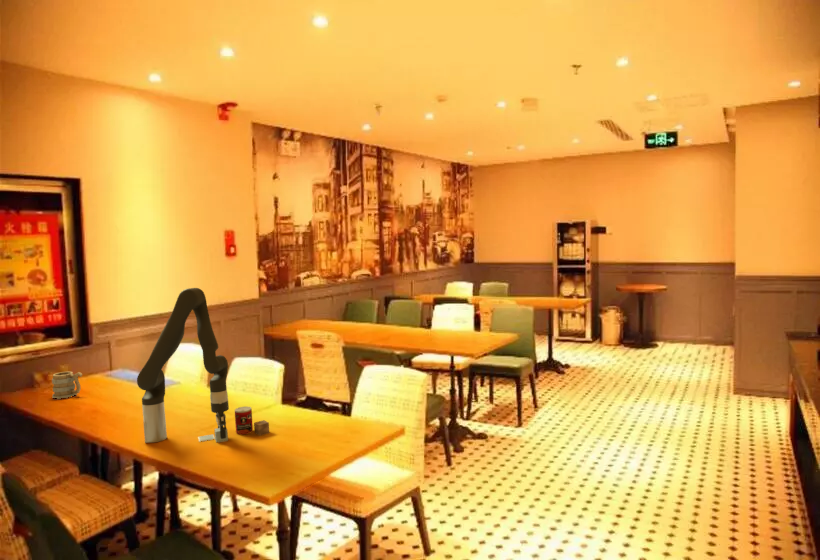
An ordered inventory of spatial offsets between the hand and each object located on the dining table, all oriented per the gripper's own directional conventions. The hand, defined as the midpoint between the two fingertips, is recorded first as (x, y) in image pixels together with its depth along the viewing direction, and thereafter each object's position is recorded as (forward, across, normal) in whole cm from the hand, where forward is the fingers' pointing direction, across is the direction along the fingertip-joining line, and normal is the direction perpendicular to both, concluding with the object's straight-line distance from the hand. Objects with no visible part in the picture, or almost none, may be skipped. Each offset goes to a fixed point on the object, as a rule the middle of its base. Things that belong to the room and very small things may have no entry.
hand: (222, 435), depth 265 cm
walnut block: (+2, 0, +18) cm, 18 cm away
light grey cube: (+2, 0, 0) cm, 2 cm away
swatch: (+2, -6, -6) cm, 9 cm away
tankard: (+1, -129, -73) cm, 149 cm away
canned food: (+2, -6, +11) cm, 12 cm away
